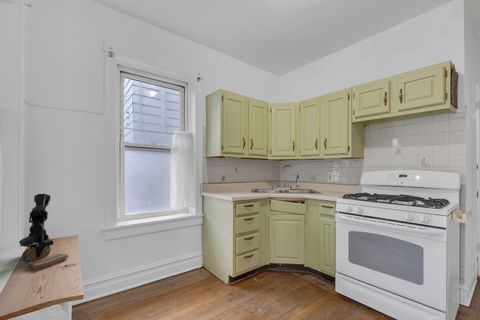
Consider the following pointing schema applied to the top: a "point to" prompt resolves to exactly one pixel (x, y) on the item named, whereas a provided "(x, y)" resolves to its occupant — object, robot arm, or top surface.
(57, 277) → the top surface
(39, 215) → the robot arm
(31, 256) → the tin
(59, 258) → the stand
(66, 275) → the top surface
